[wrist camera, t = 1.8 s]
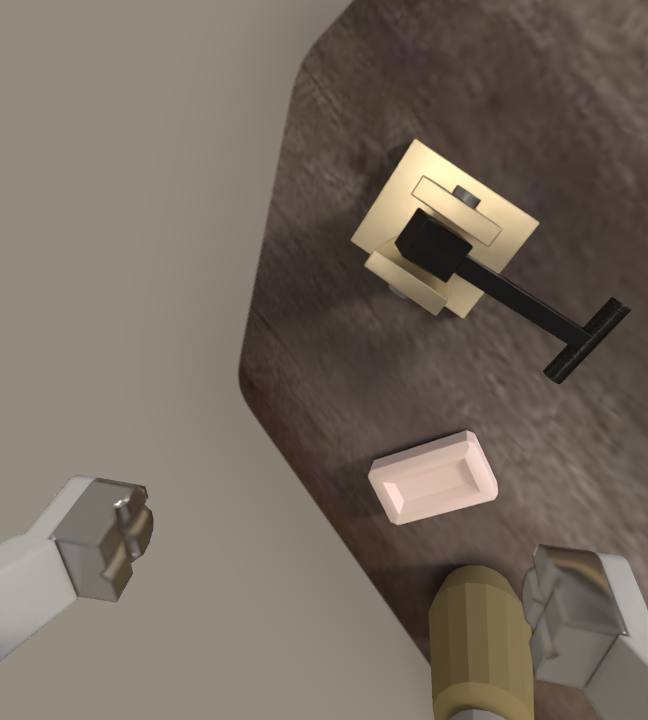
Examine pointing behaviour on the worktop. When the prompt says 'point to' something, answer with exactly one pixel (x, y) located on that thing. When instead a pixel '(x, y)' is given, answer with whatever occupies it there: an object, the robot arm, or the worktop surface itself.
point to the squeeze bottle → (480, 649)
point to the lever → (503, 290)
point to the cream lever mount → (453, 208)
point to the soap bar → (433, 478)
